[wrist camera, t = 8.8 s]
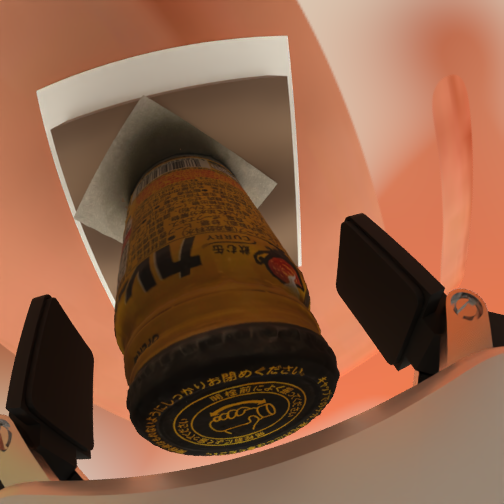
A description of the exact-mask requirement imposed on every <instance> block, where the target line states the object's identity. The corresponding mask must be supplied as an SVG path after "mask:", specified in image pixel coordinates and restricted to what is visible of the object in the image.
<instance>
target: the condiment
mask: <svg viewBox="0 0 504 504" xmlns="http://www.w3.org/2000/svg"><path fill="white" fill-rule="evenodd" d="M180 149H181V150H180ZM276 185H277V183H276V182H274V181H273V180H272V179H270V178H269V177H267V176H266V175H265V174H263V173H262V172H261V171H259V170H258V169H256V168H255V167H254V166H252V165H251V164H249V163H248V162H246V161H245V160H244V159H242V158H241V157H239V156H238V155H236V154H235V153H234V152H232V151H231V150H229V149H228V148H226V147H225V146H223V145H222V144H220V143H219V142H217V141H216V140H214V139H213V138H211V137H210V136H208V135H206V134H205V133H203V132H202V131H200V130H199V129H197V128H196V127H194V126H193V125H191V124H190V123H188V122H187V121H185V120H183V119H182V118H180V117H179V116H178V115H176V114H174V113H172V112H171V111H169V110H167V109H166V108H164V107H162V106H161V105H159V104H158V103H156V102H154V101H153V100H151V99H149V98H148V97H146V96H144V95H143V96H142V97H141V98H140V100H139V101H138V103H137V104H136V106H135V107H134V109H133V111H132V112H131V114H130V115H129V117H128V118H127V120H126V121H125V123H124V125H123V126H122V128H121V129H120V131H119V133H118V135H117V136H116V138H115V139H114V141H113V143H112V144H111V146H110V148H109V150H108V151H107V153H106V155H105V157H104V158H103V160H102V162H101V164H100V166H99V168H98V169H97V171H96V173H95V175H94V177H93V179H92V181H91V183H90V185H89V187H88V189H87V191H86V193H85V195H84V197H83V199H82V201H81V203H80V205H79V207H78V209H77V211H76V214H75V216H74V219H75V220H77V221H79V222H81V223H83V224H84V225H86V226H88V227H91V228H93V229H95V230H97V231H99V232H101V233H102V234H104V235H106V236H109V237H111V238H113V239H115V240H117V241H119V242H121V243H122V244H123V245H122V251H121V259H120V265H119V273H118V278H117V293H116V302H115V315H114V325H115V328H114V330H115V336H116V340H117V344H118V346H119V348H120V350H121V352H122V354H123V355H124V364H125V367H124V368H125V376H126V379H127V383H128V386H129V390H128V396H127V401H126V402H127V409H128V410H129V412H130V419H131V422H132V423H133V425H134V427H135V428H136V430H137V432H138V433H139V434H140V435H141V436H142V437H143V438H145V439H146V440H148V441H149V442H151V443H152V444H153V445H155V446H158V447H160V448H162V449H165V450H167V451H170V452H175V453H179V454H185V455H193V456H212V455H226V454H234V453H238V452H243V451H247V450H252V449H255V448H258V447H262V446H265V445H268V444H271V443H273V442H275V441H277V440H280V439H282V438H284V437H286V436H288V435H291V434H292V433H294V432H296V431H298V430H299V429H300V428H302V427H304V426H305V425H307V424H308V423H309V422H310V421H311V420H312V419H314V418H315V417H316V416H318V415H320V414H321V411H322V410H323V409H324V408H325V406H326V405H327V404H328V403H329V402H330V400H331V398H332V397H333V394H334V392H335V389H336V385H337V381H338V379H339V376H340V374H339V371H338V368H337V361H336V356H335V354H334V352H333V350H332V349H331V348H330V347H329V345H328V344H327V342H326V341H325V339H324V338H323V337H322V335H321V330H320V328H319V325H318V323H317V321H316V319H315V318H314V316H313V314H312V313H311V312H310V296H309V291H308V289H307V285H306V283H305V281H304V278H303V275H302V272H301V271H300V270H299V269H298V268H297V266H296V265H295V264H294V262H293V261H292V260H291V258H290V256H289V255H288V253H287V252H286V250H285V249H284V248H283V246H282V244H281V243H280V241H279V240H278V238H277V237H276V236H275V234H274V233H273V231H272V230H271V228H270V227H269V225H268V224H267V222H266V221H265V219H264V218H263V216H262V215H261V213H260V211H259V210H258V209H257V208H258V207H259V206H260V205H261V204H262V202H263V201H264V200H265V199H266V198H267V196H268V195H269V194H270V193H271V191H272V190H273V189H274V187H275V186H276ZM122 198H124V201H125V202H122ZM126 206H128V209H126V208H125V207H126Z"/></svg>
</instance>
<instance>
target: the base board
mask: <svg viewBox="0 0 504 504" xmlns="http://www.w3.org/2000/svg"><path fill="white" fill-rule="evenodd" d="M265 75H276V76H287V79H288V90H289V101H290V114H291V127H292V141H293V156H294V173H295V192H296V214H297V241H298V266H301V223H300V196H299V174H298V155H297V139H296V124H295V111H294V98H293V86H292V75H291V64H290V54H289V45H288V36H266V37H250V38H238V39H228V40H219V41H211V42H204V43H198V44H191V45H185V46H180V47H175V48H169V49H165V50H160V51H155V52H151V53H147V54H143V55H138V56H135V57H131V58H127V59H123V60H120V61H116V62H113V63H110V64H106V65H103V66H100V67H97V68H94V69H91V70H88V71H85V72H82V73H79V74H77V75H74V76H71V77H69V78H66V79H63V80H61V81H58V82H56V83H54V84H51V85H49V86H46V87H44V88H42V89H40V90H37V91H36V92H37V97H38V102H39V106H40V111H41V115H42V119H43V123H44V127H45V131H46V135H47V139H48V142H49V146H50V149H51V153H52V156H53V160H54V163H55V166H56V169H57V172H58V176H59V179H60V182H61V185H62V188H63V190H64V193H65V196H66V199H67V202H68V204H69V207H70V210H71V212H72V215H73V218H74V216H75V214H76V210H75V207H74V204H73V202H72V199H71V196H70V193H69V190H68V187H67V184H66V181H65V178H64V175H63V172H62V169H61V166H60V163H59V159H58V156H57V152H56V149H55V145H54V142H53V138H52V134H51V131H50V130H51V129H52V128H54V127H56V126H58V125H60V124H62V123H63V122H65V121H67V120H70V119H73V118H75V117H78V116H81V115H84V114H87V113H90V112H93V111H96V110H99V109H102V108H105V107H108V106H112V105H115V104H118V103H122V102H125V101H129V100H132V99H136V98H140V97H142V96H143V95H144V96H148V95H152V94H156V93H160V92H164V91H169V90H174V89H178V88H183V87H188V86H193V85H199V84H205V83H210V82H217V81H223V80H230V79H238V78H246V77H255V76H265ZM74 220H75V219H74ZM75 223H76V225H77V228H78V230H79V233H80V235H81V238H82V240H83V243H84V245H85V247H86V250H87V252H88V254H89V256H90V259H91V261H92V263H93V265H94V268H95V270H96V272H97V274H98V276H99V278H100V280H101V282H102V285H103V287H104V289H105V291H106V293H107V295H108V297H109V299H110V301H111V303H112V305H113V307H114V308H115V300H114V298H113V296H112V294H111V292H110V290H109V288H108V286H107V283H106V281H105V279H104V277H103V275H102V273H101V271H100V268H99V266H98V264H97V262H96V259H95V257H94V255H93V252H92V250H91V248H90V245H89V243H88V241H87V238H86V236H85V233H84V231H83V228H82V226H81V223H80V222H79V221H77V220H75Z"/></svg>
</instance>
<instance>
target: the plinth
mask: <svg viewBox="0 0 504 504" xmlns="http://www.w3.org/2000/svg"><path fill="white" fill-rule="evenodd" d="M146 97H148V98H149V99H151V100H153V101H154V102H156V103H158V104H159V105H161V106H162V107H164V108H166V109H167V110H169V111H171V112H172V113H174V114H176V115H178V116H179V117H180V118H182V119H183V120H185V121H187V122H188V123H190V124H191V125H193V126H194V127H196V128H197V129H199V130H200V131H202V132H203V133H205V134H206V135H208V136H210V137H211V138H213V139H214V140H216V141H217V142H219V143H220V144H222V145H223V146H225V147H226V148H228V149H229V150H231V151H232V152H234V153H235V154H236V155H238V156H239V157H241V158H242V159H244V160H245V161H246V162H248V163H249V164H251V165H252V166H254V167H255V168H256V169H258V170H259V171H261V172H262V173H263V174H265V175H266V176H267V177H269V178H270V179H272V180H273V181H274V182H276V183H277V185H276V186H275V187H274V189H273V190H272V191H271V193H270V194H269V195H268V196H267V198H266V199H265V200H264V201H263V202H262V204H261V205H260V206H259V207H258V208H257V209H258V210H259V211H260V213H261V215H262V216H263V218H264V219H265V221H266V222H267V224H268V225H269V227H270V228H271V230H272V231H273V233H274V234H275V236H276V237H277V238H278V240H279V241H280V243H281V244H282V246H283V248H284V249H285V250H286V252H287V253H288V255H289V256H290V258H291V260H292V261H293V262H294V264H295V265H296V266H297V267H298V241H297V214H296V192H295V173H294V156H293V141H292V127H291V114H290V101H289V90H288V79H287V76H276V75H265V76H255V77H246V78H238V79H230V80H223V81H217V82H210V83H205V84H199V85H193V86H188V87H183V88H178V89H174V90H169V91H164V92H160V93H156V94H152V95H148V96H146ZM140 98H141V97H140ZM140 98H136V99H132V100H129V101H125V102H122V103H118V104H115V105H112V106H108V107H105V108H102V109H99V110H96V111H93V112H90V113H87V114H84V115H81V116H78V117H75V118H73V119H70V120H67V121H65V122H63V123H62V124H60V125H58V126H56V127H54V128H52V129H51V130H50V131H51V134H52V138H53V142H54V145H55V149H56V152H57V156H58V159H59V163H60V166H61V169H62V172H63V175H64V178H65V181H66V184H67V187H68V190H69V193H70V196H71V199H72V202H73V204H74V207H75V210H76V211H77V209H78V207H79V205H80V203H81V201H82V199H83V197H84V195H85V193H86V191H87V189H88V187H89V185H90V183H91V181H92V179H93V177H94V175H95V173H96V171H97V169H98V168H99V166H100V164H101V162H102V160H103V158H104V157H105V155H106V153H107V151H108V150H109V148H110V146H111V144H112V143H113V141H114V139H115V138H116V136H117V135H118V133H119V131H120V129H121V128H122V126H123V125H124V123H125V121H126V120H127V118H128V117H129V115H130V114H131V112H132V111H133V109H134V107H135V106H136V104H137V103H138V101H139V100H140ZM180 150H181V149H180ZM122 202H125V201H124V198H122ZM125 208H126V209H128V206H126V207H125ZM80 223H81V222H80ZM81 226H82V228H83V231H84V233H85V236H86V238H87V241H88V243H89V245H90V248H91V250H92V252H93V255H94V257H95V259H96V262H97V264H98V266H99V268H100V271H101V273H102V275H103V277H104V279H105V281H106V283H107V286H108V288H109V290H110V292H111V294H112V296H113V298H114V300H115V302H116V293H117V278H118V273H119V265H120V259H121V251H122V245H123V244H122V243H121V242H119V241H117V240H115V239H113V238H111V237H109V236H106V235H104V234H102V233H101V232H99V231H97V230H95V229H93V228H91V227H88V226H86V225H84V224H83V223H81Z"/></svg>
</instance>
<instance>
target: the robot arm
mask: <svg viewBox="0 0 504 504" xmlns="http://www.w3.org/2000/svg"><path fill="white" fill-rule="evenodd" d="M336 288H337V292H338V294H339V295H340V297H341V298H342V299H343V301H344V302H345V303H346V305H347V306H348V308H349V309H350V310H351V312H352V313H353V314H354V316H355V317H356V319H357V320H358V321H359V323H360V324H361V326H362V327H363V328H364V330H365V331H366V333H367V334H368V335H369V337H370V338H371V340H372V341H373V342H374V344H375V345H376V347H377V348H378V350H379V351H380V352H381V354H382V355H383V357H384V358H385V360H386V361H387V362H388V363H389V364H390V365H394V366H395V368H396V369H397V370H398V371H399V370H401V369H403V368H405V367H407V366H409V365H410V364H411V365H412V366H413V367H414V369H415V373H414V381H413V387H412V388H410V389H408V390H406V391H404V392H402V393H401V394H399V395H397V396H395V397H393V398H391V399H389V400H387V401H386V402H383V403H382V404H379V405H377V406H375V407H373V408H371V409H369V410H367V411H365V412H363V413H361V414H359V415H356V416H354V417H352V418H350V419H347V420H345V421H343V422H341V423H338V424H336V425H333V426H331V427H329V428H326V429H324V430H321V431H319V432H316V433H313V434H311V435H308V436H305V437H303V438H300V439H297V440H294V441H292V442H289V443H286V444H283V445H280V446H277V447H274V448H271V449H268V450H264V451H261V452H257V453H254V454H250V455H247V456H243V457H239V458H236V459H232V460H228V461H224V462H220V463H215V464H211V465H206V466H201V467H196V468H192V469H186V470H180V471H175V472H169V473H162V474H155V475H148V476H139V477H129V478H117V479H102V480H89V479H88V478H87V477H86V476H85V475H84V474H83V472H82V471H81V470H80V469H79V468H78V467H77V459H91V452H90V450H92V449H93V447H94V440H93V368H94V358H93V354H92V351H91V350H90V348H89V347H88V346H87V344H86V343H85V341H84V340H83V339H82V337H81V336H80V334H79V333H78V331H77V330H76V328H75V327H74V325H73V324H72V322H71V321H70V319H69V318H68V316H67V315H66V313H65V312H64V310H63V309H62V307H61V305H60V304H59V302H58V301H57V299H56V298H52V297H51V296H50V295H43V296H40V297H36V298H34V299H32V301H31V304H30V307H29V310H28V314H27V317H26V320H25V323H24V327H23V330H22V334H21V338H20V341H19V345H18V349H17V353H16V357H15V362H14V366H13V370H12V375H11V380H10V386H9V391H8V397H7V403H6V409H7V410H8V411H9V417H8V416H6V415H1V414H0V504H504V315H501V314H496V313H493V312H488V310H487V307H486V304H485V302H484V301H483V299H482V298H481V297H480V296H478V295H477V294H475V293H474V292H472V291H470V290H467V289H455V290H452V291H451V292H449V294H448V295H446V294H445V293H444V289H445V288H444V287H443V286H442V285H441V284H440V283H439V282H438V281H437V280H436V279H435V278H434V277H433V276H432V275H431V274H430V273H429V272H428V271H427V270H426V269H425V268H424V267H423V266H422V265H421V264H420V263H419V262H418V261H417V260H416V259H415V258H413V257H412V256H411V255H410V254H409V253H408V252H407V251H406V250H405V249H404V248H402V247H401V246H400V245H399V244H398V243H397V242H396V241H395V240H394V239H393V238H391V237H390V236H389V235H388V234H387V233H386V232H385V231H384V230H382V229H381V228H380V227H379V226H378V225H377V224H376V223H374V222H373V221H372V220H371V219H370V218H369V217H367V216H366V215H365V214H363V213H361V214H356V215H352V216H348V217H346V219H345V222H343V223H342V224H341V232H340V246H339V258H338V269H337V279H336Z"/></svg>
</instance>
